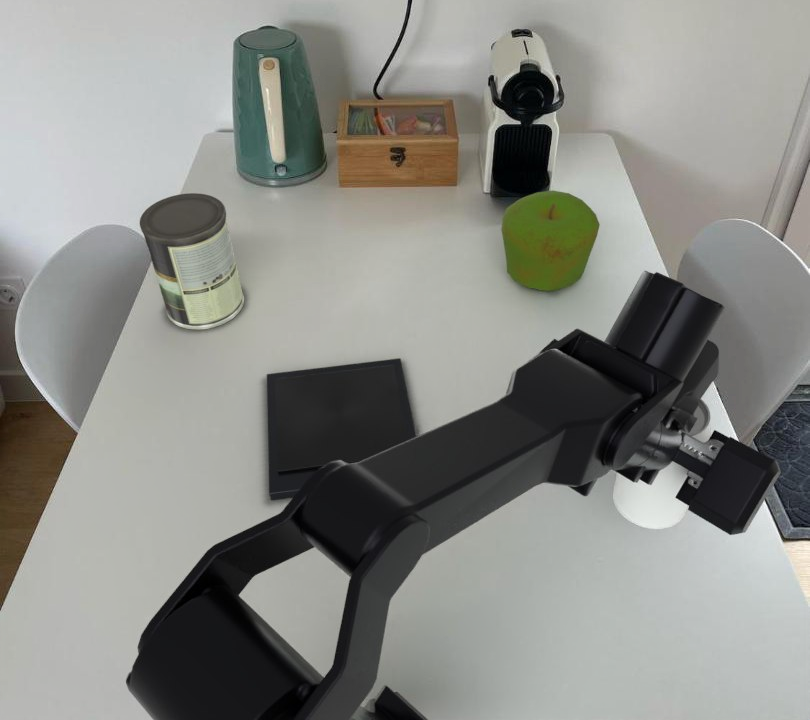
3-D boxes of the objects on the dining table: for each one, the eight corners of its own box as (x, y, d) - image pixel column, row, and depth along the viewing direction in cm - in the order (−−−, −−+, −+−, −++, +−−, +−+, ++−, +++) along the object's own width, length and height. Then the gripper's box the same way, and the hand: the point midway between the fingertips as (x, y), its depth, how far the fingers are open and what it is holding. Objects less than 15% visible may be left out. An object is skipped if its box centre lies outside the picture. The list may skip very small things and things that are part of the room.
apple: (513, 242, 116) (518, 172, 108) (599, 258, 112) (610, 187, 105) (487, 293, 108) (491, 221, 100) (579, 312, 104) (589, 239, 96)
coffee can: (153, 326, 105) (124, 234, 95) (185, 278, 112) (161, 189, 103) (228, 334, 103) (206, 242, 94) (255, 286, 111) (237, 196, 101)
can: (625, 465, 77) (647, 373, 69) (693, 491, 74) (724, 398, 66) (601, 514, 73) (622, 422, 65) (673, 543, 70) (704, 451, 62)
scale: (424, 480, 85) (423, 471, 84) (270, 501, 84) (268, 491, 82) (400, 365, 98) (400, 355, 97) (268, 381, 97) (266, 371, 96)
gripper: (811, 389, 51) (827, 416, 64) (564, 273, 61) (622, 317, 74) (722, 541, 52) (755, 537, 65) (493, 403, 62) (562, 424, 75)
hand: (670, 445), depth 70 cm, fingers closed on can, 6 cm apart
